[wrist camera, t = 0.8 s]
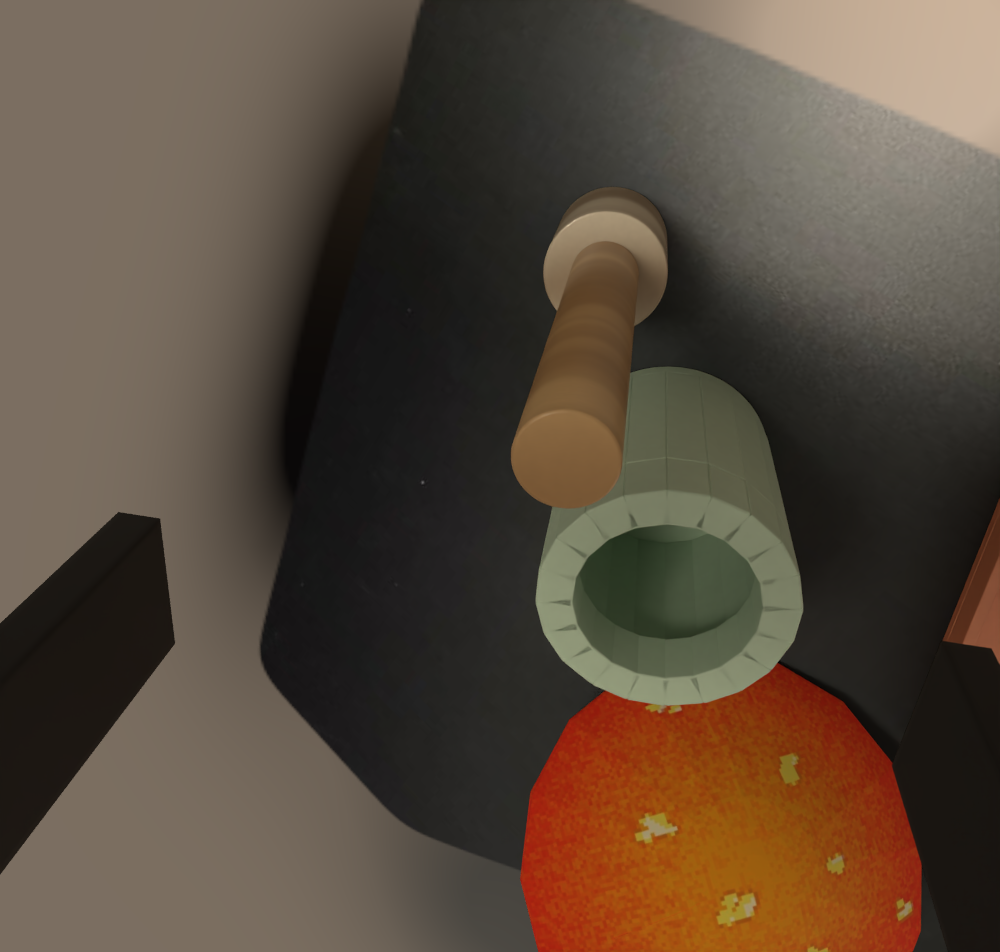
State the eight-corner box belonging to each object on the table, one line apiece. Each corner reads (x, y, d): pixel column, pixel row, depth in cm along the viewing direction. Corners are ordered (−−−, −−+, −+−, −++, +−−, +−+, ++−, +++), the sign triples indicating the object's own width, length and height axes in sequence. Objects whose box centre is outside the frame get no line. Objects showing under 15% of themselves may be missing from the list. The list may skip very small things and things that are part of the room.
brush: (562, 180, 38) (470, 350, 20) (676, 193, 38) (688, 379, 19) (550, 290, 40) (458, 533, 22) (657, 303, 40) (653, 562, 22)
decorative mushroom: (826, 886, 55) (876, 1162, 42) (508, 774, 55) (460, 1016, 42) (957, 722, 48) (1068, 994, 35) (592, 592, 48) (565, 816, 35)
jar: (578, 353, 42) (550, 472, 31) (789, 380, 41) (832, 513, 30) (556, 527, 46) (525, 683, 36) (744, 556, 45) (769, 724, 35)
